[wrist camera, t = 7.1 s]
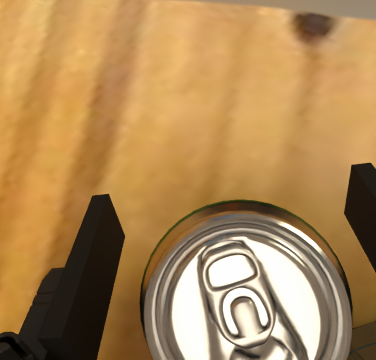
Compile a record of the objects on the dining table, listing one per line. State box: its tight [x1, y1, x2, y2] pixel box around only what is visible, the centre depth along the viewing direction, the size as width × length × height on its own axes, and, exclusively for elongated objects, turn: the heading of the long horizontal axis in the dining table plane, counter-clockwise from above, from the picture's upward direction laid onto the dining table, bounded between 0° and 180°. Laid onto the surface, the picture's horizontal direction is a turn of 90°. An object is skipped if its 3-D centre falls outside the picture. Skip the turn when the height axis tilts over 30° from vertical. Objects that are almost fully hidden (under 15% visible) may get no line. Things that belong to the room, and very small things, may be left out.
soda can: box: [140, 200, 353, 360], centre depth 13 cm, size 5×5×12 cm
